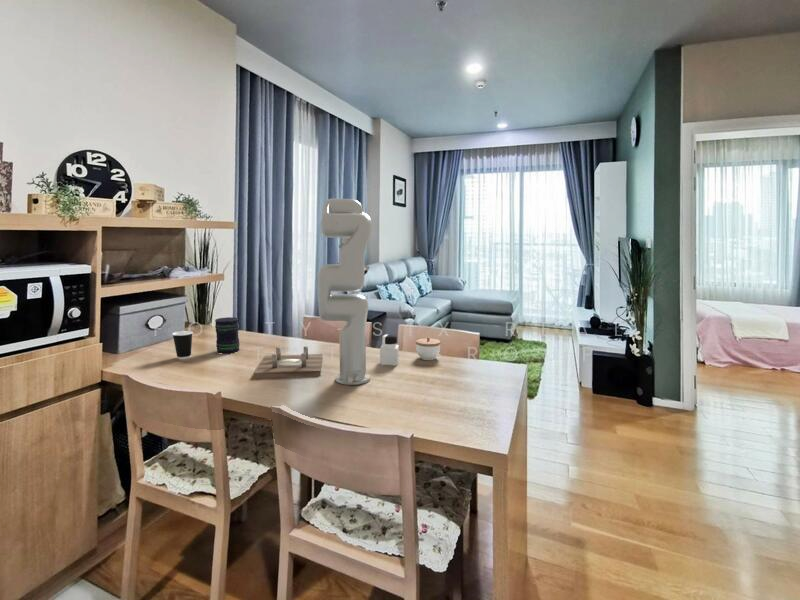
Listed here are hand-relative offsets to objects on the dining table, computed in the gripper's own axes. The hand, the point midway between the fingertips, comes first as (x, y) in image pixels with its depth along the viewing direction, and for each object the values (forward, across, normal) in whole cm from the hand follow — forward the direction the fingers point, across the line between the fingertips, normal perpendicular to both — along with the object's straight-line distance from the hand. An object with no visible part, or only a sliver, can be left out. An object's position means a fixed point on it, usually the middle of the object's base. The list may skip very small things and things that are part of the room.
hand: (350, 284), depth 194 cm
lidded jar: (+31, +31, -21) cm, 49 cm away
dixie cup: (+31, -72, 0) cm, 78 cm away
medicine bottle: (+31, +13, -25) cm, 42 cm away
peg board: (+31, -27, -24) cm, 47 cm away
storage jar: (+31, -55, +8) cm, 64 cm away
